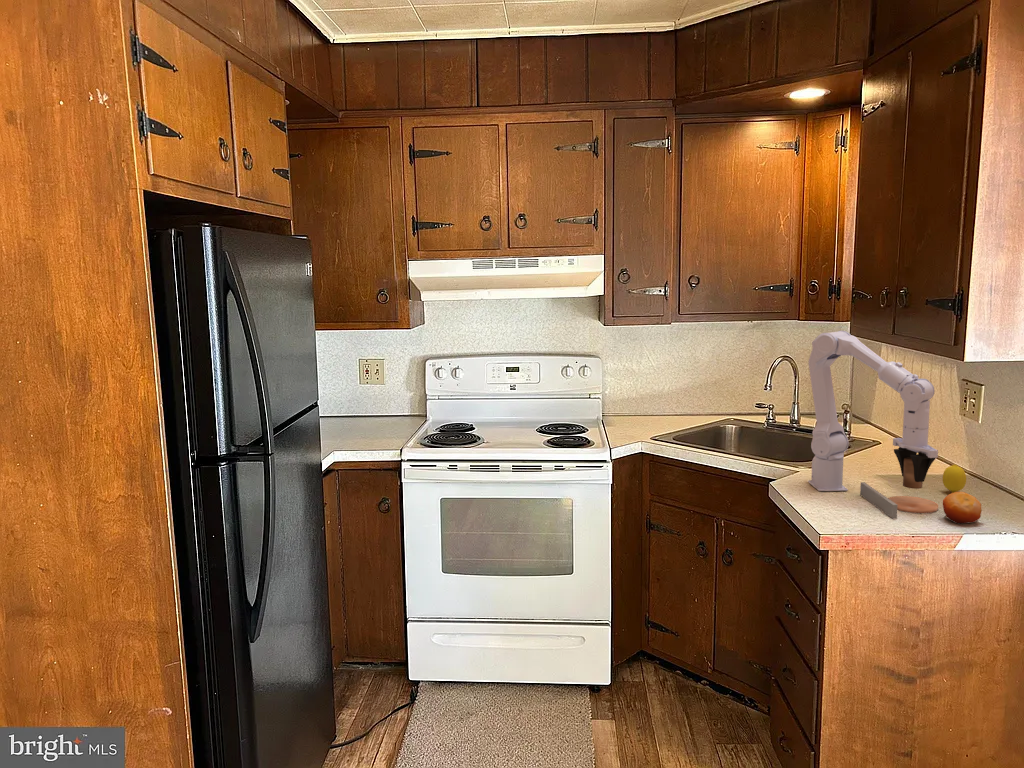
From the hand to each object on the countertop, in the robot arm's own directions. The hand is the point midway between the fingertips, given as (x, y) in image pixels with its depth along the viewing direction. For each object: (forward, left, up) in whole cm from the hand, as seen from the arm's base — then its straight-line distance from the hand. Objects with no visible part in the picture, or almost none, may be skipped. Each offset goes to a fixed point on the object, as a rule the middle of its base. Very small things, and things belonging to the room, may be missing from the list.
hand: (913, 478), depth 189 cm
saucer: (0, 0, -7) cm, 7 cm away
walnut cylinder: (0, 0, -2) cm, 2 cm away
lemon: (-11, +16, -7) cm, 21 cm away
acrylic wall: (0, -9, -7) cm, 11 cm away
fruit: (+12, +6, -8) cm, 15 cm away
